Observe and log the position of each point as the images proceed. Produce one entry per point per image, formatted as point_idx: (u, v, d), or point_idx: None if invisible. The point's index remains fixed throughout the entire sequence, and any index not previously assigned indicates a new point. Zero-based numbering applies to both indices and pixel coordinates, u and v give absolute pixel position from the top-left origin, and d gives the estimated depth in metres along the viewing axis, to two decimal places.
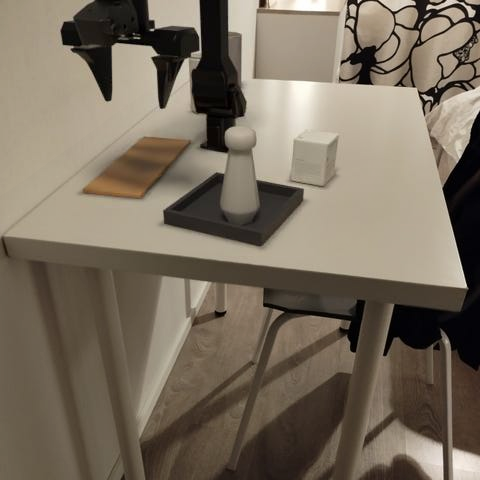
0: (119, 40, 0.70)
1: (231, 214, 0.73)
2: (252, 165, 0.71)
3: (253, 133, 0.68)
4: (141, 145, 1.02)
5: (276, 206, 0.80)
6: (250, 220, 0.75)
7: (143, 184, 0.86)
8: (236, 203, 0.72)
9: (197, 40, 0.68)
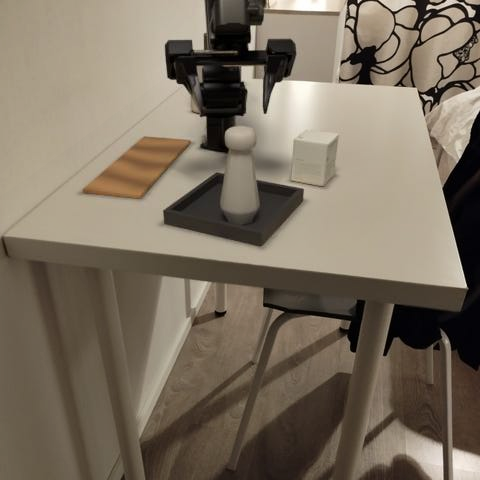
0: (221, 59, 0.75)
1: (231, 214, 0.73)
2: (252, 165, 0.71)
3: (253, 133, 0.68)
4: (141, 145, 1.02)
5: (276, 206, 0.80)
6: (250, 220, 0.75)
7: (143, 184, 0.86)
8: (236, 203, 0.72)
9: None
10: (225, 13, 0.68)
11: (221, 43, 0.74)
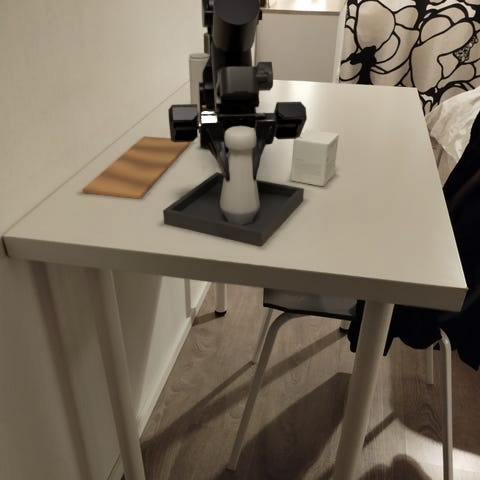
0: (227, 123, 0.72)
1: (231, 214, 0.73)
2: (252, 165, 0.71)
3: (253, 133, 0.68)
4: (141, 145, 1.02)
5: (276, 206, 0.80)
6: (250, 220, 0.75)
7: (143, 184, 0.86)
8: (236, 203, 0.72)
9: None
10: (232, 81, 0.65)
11: (228, 107, 0.70)
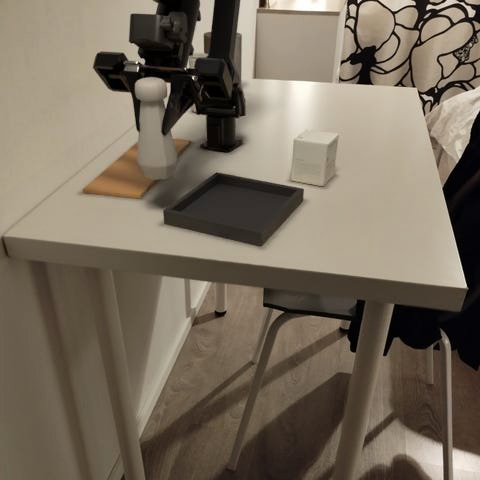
0: (153, 75, 0.72)
1: (141, 166, 0.73)
2: (161, 119, 0.70)
3: (158, 84, 0.67)
4: None
5: (276, 206, 0.80)
6: (163, 176, 0.74)
7: (143, 184, 0.86)
8: (144, 155, 0.72)
9: (231, 87, 0.72)
10: (137, 28, 0.65)
11: (151, 58, 0.70)
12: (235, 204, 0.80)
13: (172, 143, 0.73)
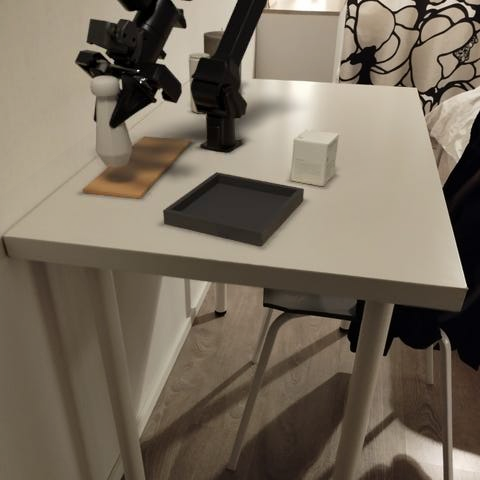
0: (119, 74, 0.80)
1: (97, 153, 0.83)
2: (110, 113, 0.78)
3: (106, 82, 0.76)
4: (141, 145, 1.02)
5: (276, 206, 0.80)
6: (113, 164, 0.83)
7: (143, 184, 0.86)
8: (97, 144, 0.81)
9: (179, 92, 0.77)
10: (91, 32, 0.74)
11: (116, 59, 0.79)
12: (235, 204, 0.80)
13: (122, 136, 0.81)
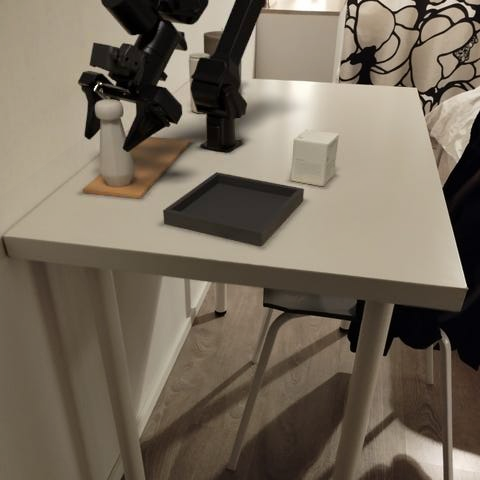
0: (121, 95, 0.82)
1: (100, 173, 0.85)
2: (114, 135, 0.80)
3: (110, 106, 0.78)
4: (141, 145, 1.02)
5: (276, 206, 0.80)
6: (116, 185, 0.85)
7: (143, 184, 0.86)
8: (100, 164, 0.83)
9: (179, 113, 0.79)
10: (94, 55, 0.75)
11: (118, 81, 0.80)
12: (235, 204, 0.80)
13: (125, 157, 0.83)
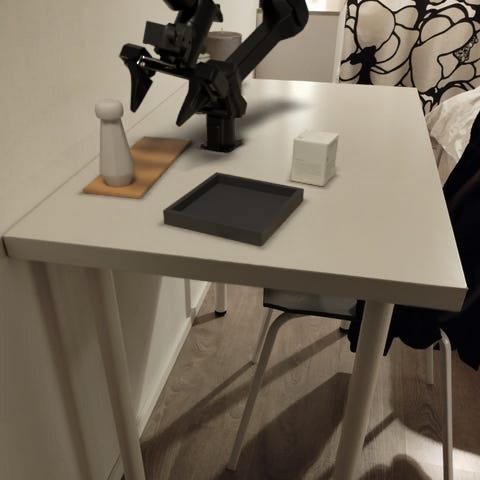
0: (165, 69, 0.86)
1: (100, 173, 0.85)
2: (114, 135, 0.80)
3: (110, 106, 0.78)
4: (141, 145, 1.02)
5: (276, 206, 0.80)
6: (116, 185, 0.85)
7: (143, 184, 0.86)
8: (100, 164, 0.83)
9: (226, 89, 0.85)
10: (149, 34, 0.79)
11: (164, 56, 0.84)
12: (235, 204, 0.80)
13: (125, 157, 0.83)
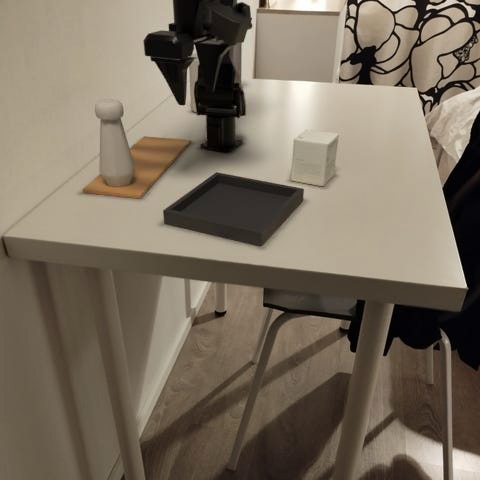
0: None
1: (100, 173, 0.85)
2: (114, 135, 0.80)
3: (110, 106, 0.78)
4: (141, 145, 1.02)
5: (276, 206, 0.80)
6: (116, 185, 0.85)
7: (143, 184, 0.86)
8: (100, 164, 0.83)
9: None
10: (238, 35, 0.74)
11: None
12: (235, 204, 0.80)
13: (125, 157, 0.83)
